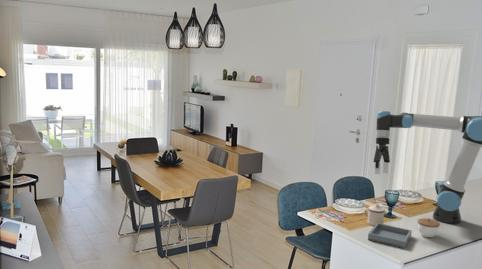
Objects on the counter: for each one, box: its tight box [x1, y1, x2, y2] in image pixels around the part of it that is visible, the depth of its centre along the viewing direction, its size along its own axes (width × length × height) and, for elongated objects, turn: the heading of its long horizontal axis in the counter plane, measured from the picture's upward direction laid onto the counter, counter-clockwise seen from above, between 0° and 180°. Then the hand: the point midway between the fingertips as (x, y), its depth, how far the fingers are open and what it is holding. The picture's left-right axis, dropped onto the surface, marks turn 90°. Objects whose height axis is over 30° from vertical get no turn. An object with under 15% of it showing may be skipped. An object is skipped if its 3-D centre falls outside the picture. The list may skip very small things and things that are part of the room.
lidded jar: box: [417, 217, 441, 238], centre depth 222 cm, size 11×11×9 cm
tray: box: [367, 223, 413, 249], centre depth 217 cm, size 18×18×4 cm
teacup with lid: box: [364, 203, 386, 227], centre depth 238 cm, size 12×9×12 cm
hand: (381, 173), depth 244 cm, fingers open, 13 cm apart
